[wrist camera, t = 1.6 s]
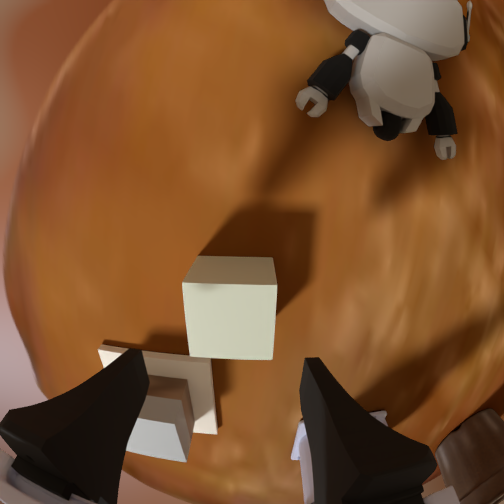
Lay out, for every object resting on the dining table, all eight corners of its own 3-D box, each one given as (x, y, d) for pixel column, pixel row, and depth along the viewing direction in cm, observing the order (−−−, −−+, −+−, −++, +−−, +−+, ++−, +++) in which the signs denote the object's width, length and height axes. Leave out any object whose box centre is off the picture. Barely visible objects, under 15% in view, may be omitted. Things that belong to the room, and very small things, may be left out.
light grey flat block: (181, 400, 19) (174, 424, 17) (190, 441, 21) (186, 462, 18) (112, 388, 19) (101, 409, 17) (130, 430, 21) (122, 449, 18)
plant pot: (435, 427, 26) (477, 514, 11) (514, 381, 25) (561, 443, 9) (415, 472, 31) (438, 539, 15) (485, 436, 29) (515, 491, 14)
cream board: (210, 357, 21) (209, 363, 21) (217, 428, 25) (217, 434, 24) (101, 344, 22) (97, 349, 21) (127, 415, 25) (125, 420, 24)
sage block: (272, 256, 19) (277, 285, 15) (269, 321, 20) (272, 359, 16) (198, 255, 19) (182, 282, 15) (201, 319, 21) (189, 356, 16)
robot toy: (435, 164, 17) (447, 9, 12) (471, 172, 13) (476, -5, 8) (280, 118, 17) (309, -45, 11) (287, 110, 13) (318, -76, 7)
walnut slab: (187, 379, 21) (181, 400, 19) (195, 421, 23) (190, 441, 21) (122, 370, 21) (112, 388, 19) (137, 412, 23) (130, 430, 21)
